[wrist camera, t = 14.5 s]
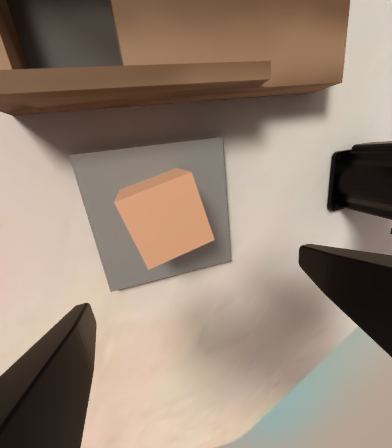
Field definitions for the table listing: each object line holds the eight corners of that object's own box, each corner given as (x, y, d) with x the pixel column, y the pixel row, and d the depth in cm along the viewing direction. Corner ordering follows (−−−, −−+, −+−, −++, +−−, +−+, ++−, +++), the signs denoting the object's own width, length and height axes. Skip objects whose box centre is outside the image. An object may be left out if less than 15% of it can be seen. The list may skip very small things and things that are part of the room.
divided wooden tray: (313, 92, 20) (366, 73, 16) (11, 115, 15) (-44, 96, 10) (322, -53, 17) (393, -131, 12) (-66, -94, 11) (-203, -265, 7)
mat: (227, 256, 23) (231, 260, 22) (111, 285, 20) (110, 291, 19) (217, 137, 19) (222, 136, 18) (72, 155, 16) (68, 155, 15)
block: (195, 220, 20) (214, 239, 15) (144, 242, 19) (148, 269, 14) (176, 167, 18) (191, 172, 13) (119, 190, 17) (113, 202, 12)
